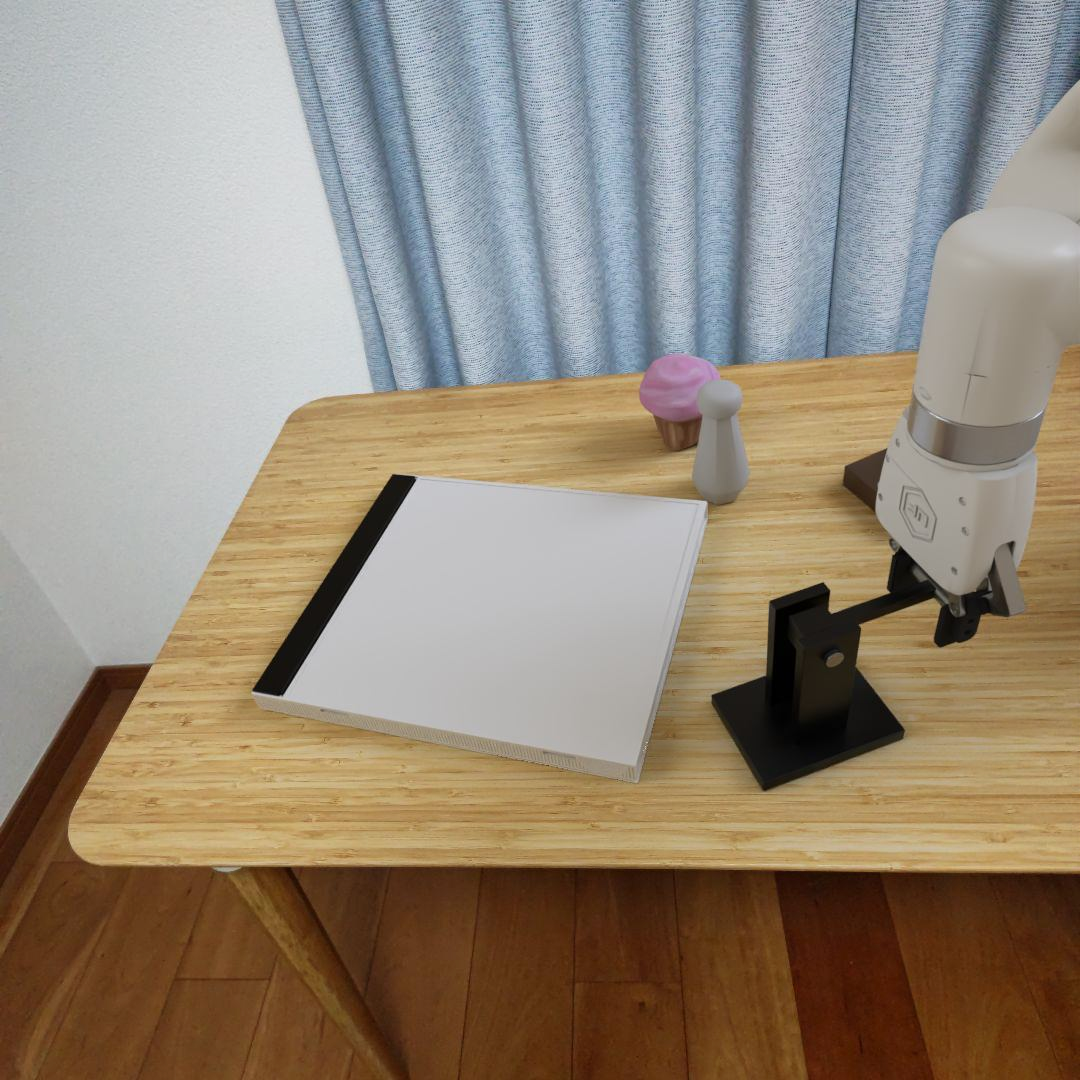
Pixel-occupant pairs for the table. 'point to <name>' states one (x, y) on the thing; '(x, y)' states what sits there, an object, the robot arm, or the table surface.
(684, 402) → the cupcake
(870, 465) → the plate
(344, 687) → the cd case
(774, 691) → the handle bracket
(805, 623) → the door handle
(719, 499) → the salt shaker
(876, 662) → the table surface
